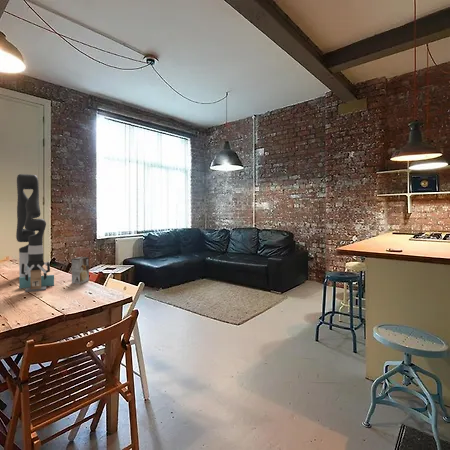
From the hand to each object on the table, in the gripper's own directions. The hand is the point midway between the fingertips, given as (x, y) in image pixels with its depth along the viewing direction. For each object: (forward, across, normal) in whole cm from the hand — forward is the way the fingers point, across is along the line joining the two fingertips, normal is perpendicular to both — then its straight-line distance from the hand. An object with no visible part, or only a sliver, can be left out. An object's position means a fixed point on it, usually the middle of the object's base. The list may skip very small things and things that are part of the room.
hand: (36, 280), depth 178 cm
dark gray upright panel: (+6, 0, 0) cm, 6 cm away
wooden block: (+5, 0, 0) cm, 5 cm away
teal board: (+6, 0, -7) cm, 9 cm away
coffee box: (+6, -24, -10) cm, 27 cm away
